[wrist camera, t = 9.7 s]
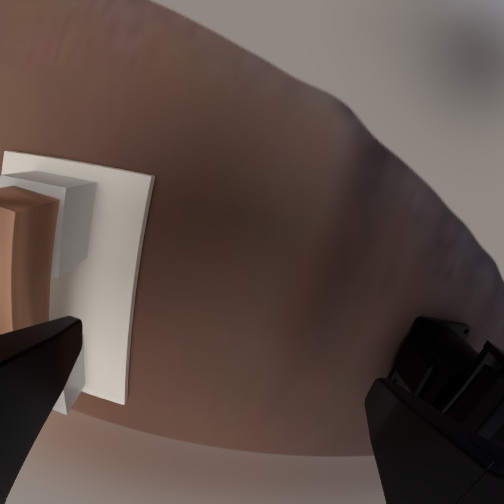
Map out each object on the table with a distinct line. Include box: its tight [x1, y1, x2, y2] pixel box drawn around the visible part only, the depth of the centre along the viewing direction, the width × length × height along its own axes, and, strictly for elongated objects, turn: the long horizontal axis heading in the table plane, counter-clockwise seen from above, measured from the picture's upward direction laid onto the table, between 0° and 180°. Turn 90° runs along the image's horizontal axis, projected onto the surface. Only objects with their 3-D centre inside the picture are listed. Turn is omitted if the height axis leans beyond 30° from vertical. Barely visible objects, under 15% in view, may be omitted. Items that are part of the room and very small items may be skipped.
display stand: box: [0, 151, 155, 415], centre depth 18 cm, size 12×18×5 cm, turn 166°
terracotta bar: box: [0, 185, 60, 334], centre depth 14 cm, size 4×15×4 cm, turn 163°
